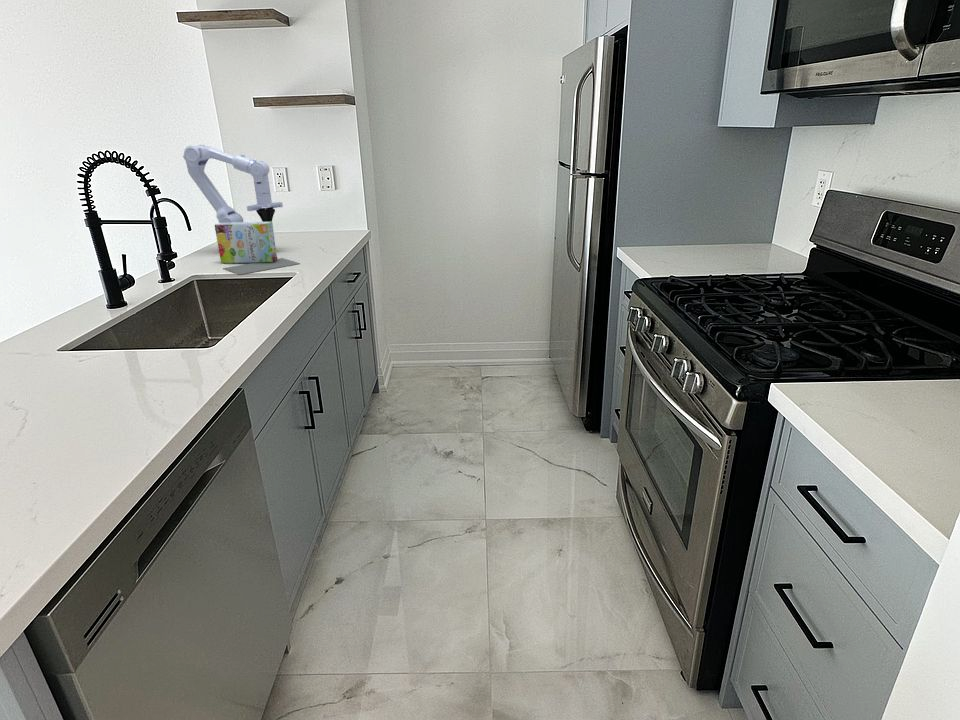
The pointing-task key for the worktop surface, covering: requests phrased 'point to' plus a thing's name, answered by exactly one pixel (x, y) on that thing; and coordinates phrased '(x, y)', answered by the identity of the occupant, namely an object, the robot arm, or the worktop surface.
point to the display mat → (260, 266)
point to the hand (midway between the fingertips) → (268, 227)
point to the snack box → (246, 242)
